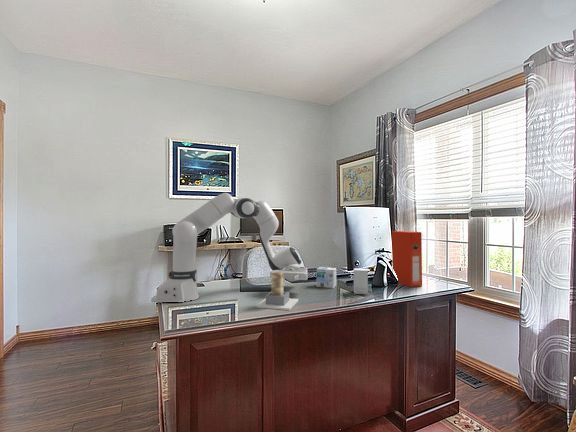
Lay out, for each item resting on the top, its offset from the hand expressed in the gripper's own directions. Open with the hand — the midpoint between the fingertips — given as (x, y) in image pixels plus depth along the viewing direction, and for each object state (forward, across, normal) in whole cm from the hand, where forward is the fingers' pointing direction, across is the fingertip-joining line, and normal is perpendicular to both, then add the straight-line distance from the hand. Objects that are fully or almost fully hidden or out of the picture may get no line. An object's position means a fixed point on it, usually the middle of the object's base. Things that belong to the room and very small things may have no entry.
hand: (285, 277), depth 156 cm
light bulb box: (-31, +16, +10) cm, 37 cm away
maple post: (+12, 0, +9) cm, 15 cm away
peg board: (+12, 0, +10) cm, 16 cm away
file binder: (-50, +63, +10) cm, 81 cm away
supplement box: (-21, +37, +10) cm, 43 cm away
